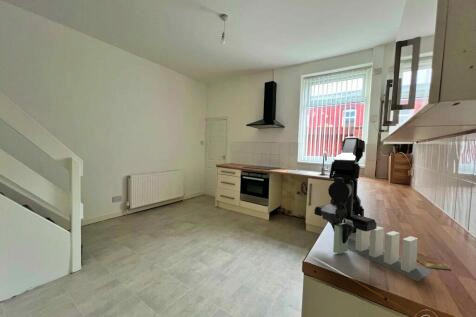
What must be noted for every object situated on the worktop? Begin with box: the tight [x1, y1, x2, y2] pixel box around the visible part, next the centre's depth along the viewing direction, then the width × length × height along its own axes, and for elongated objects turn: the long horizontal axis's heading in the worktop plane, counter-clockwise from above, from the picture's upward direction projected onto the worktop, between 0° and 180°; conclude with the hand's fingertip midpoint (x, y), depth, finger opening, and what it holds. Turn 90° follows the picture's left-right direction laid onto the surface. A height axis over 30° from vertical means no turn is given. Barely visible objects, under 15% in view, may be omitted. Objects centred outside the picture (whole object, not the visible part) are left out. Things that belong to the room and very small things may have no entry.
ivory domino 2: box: [369, 226, 385, 258], centre depth 68 cm, size 5×2×9 cm, turn 119°
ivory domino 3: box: [383, 230, 401, 265], centre depth 64 cm, size 5×2×9 cm, turn 119°
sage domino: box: [332, 223, 349, 255], centre depth 68 cm, size 5×2×9 cm, turn 119°
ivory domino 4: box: [401, 235, 419, 272], centre depth 60 cm, size 5×2×9 cm, turn 119°
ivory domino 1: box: [355, 229, 370, 252], centre depth 72 cm, size 5×2×9 cm, turn 119°
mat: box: [348, 238, 434, 282], centre depth 67 cm, size 10×25×1 cm, turn 29°
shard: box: [416, 252, 451, 270], centre depth 66 cm, size 11×8×2 cm
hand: (341, 241), depth 68 cm, fingers closed on sage domino, 2 cm apart
